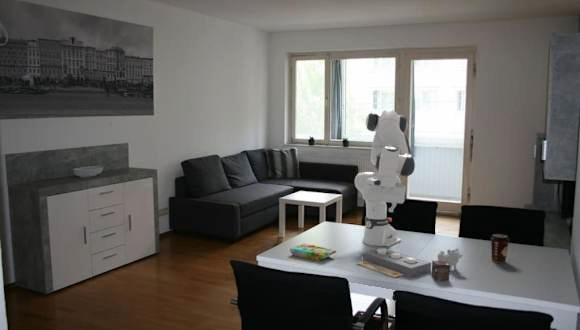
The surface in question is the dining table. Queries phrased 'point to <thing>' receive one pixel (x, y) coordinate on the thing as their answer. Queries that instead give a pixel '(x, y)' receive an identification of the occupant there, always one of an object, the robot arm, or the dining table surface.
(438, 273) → the box
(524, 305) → the dining table surface
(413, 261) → the button
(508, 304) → the dining table surface
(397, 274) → the pattern card
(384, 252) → the button
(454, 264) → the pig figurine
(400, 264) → the console
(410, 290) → the dining table surface
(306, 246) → the puzzle game
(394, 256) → the button
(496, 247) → the coffee cup
